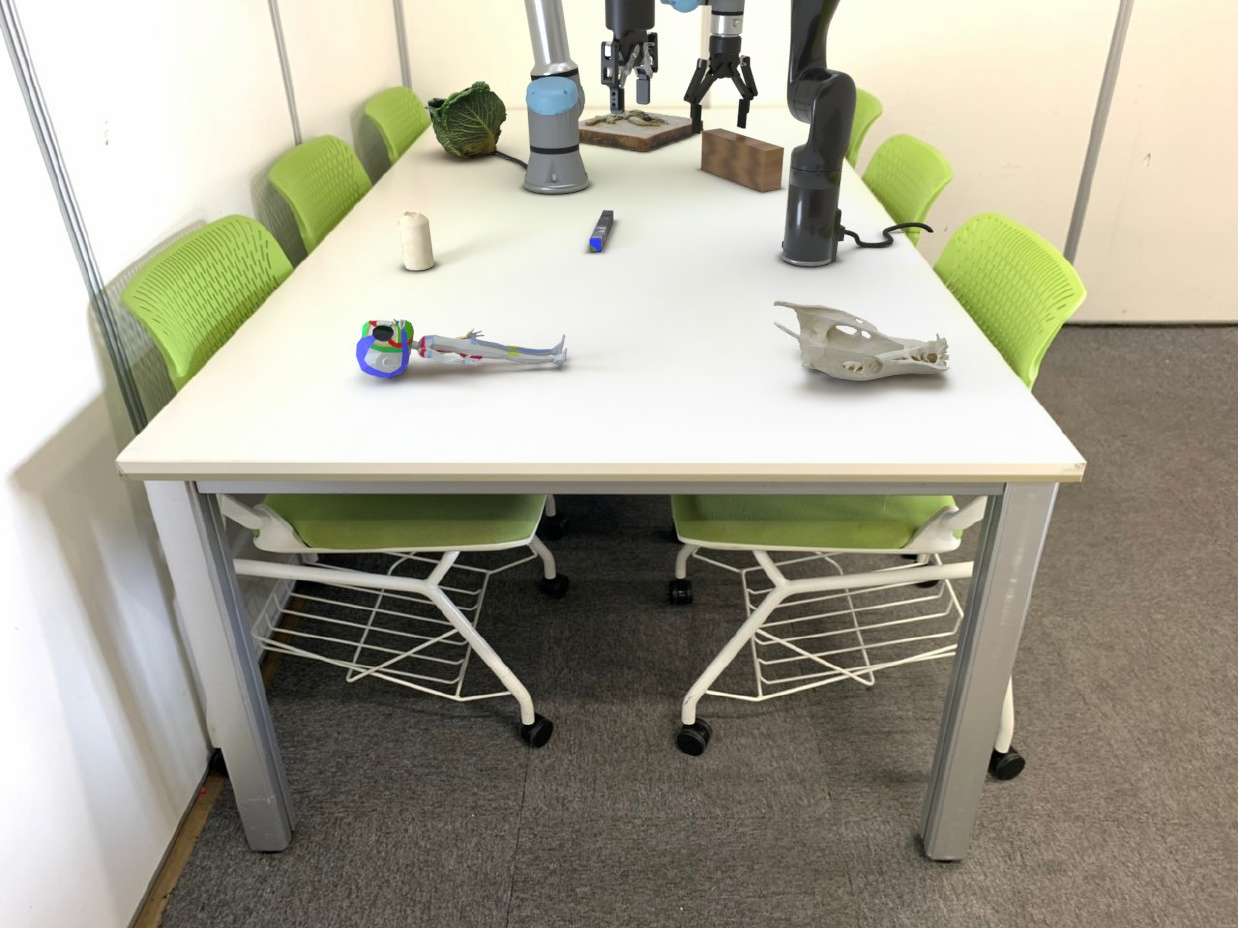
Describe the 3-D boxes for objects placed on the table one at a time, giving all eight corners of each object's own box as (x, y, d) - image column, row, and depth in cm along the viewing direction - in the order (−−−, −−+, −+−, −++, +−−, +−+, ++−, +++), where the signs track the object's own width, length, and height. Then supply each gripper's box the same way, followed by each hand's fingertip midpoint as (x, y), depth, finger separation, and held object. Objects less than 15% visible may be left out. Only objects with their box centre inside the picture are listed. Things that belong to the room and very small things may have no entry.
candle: (439, 262, 170) (432, 209, 165) (425, 272, 166) (417, 218, 161) (414, 259, 172) (406, 207, 167) (399, 269, 168) (391, 216, 162)
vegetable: (457, 176, 250) (415, 110, 242) (515, 138, 251) (474, 71, 243) (465, 176, 232) (420, 104, 224) (527, 135, 233) (484, 62, 225)
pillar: (613, 210, 190) (600, 241, 173) (613, 220, 191) (600, 251, 174) (603, 210, 190) (589, 240, 173) (603, 220, 191) (589, 251, 174)
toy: (569, 347, 126) (349, 329, 122) (563, 400, 131) (350, 385, 126) (565, 318, 135) (359, 301, 130) (559, 369, 139) (360, 354, 134)
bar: (700, 169, 226) (702, 131, 221) (718, 166, 229) (720, 128, 224) (762, 192, 208) (765, 151, 203) (781, 188, 210) (784, 147, 205)
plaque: (647, 125, 237) (559, 112, 252) (647, 153, 241) (560, 139, 256) (706, 107, 258) (622, 97, 273) (705, 133, 262) (622, 121, 277)
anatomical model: (773, 291, 133) (948, 293, 129) (771, 347, 137) (939, 351, 134) (773, 333, 120) (966, 337, 116) (770, 393, 125) (955, 399, 121)
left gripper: (690, 39, 200) (684, 138, 211) (778, 34, 211) (768, 128, 222) (671, 35, 205) (667, 132, 217) (758, 30, 216) (750, 122, 227)
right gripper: (629, -1, 127) (629, 119, 135) (673, -10, 137) (671, 103, 146) (583, -3, 130) (587, 115, 139) (630, -11, 140) (631, 99, 149)
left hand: (718, 130), depth 219 cm, fingers open, 13 cm apart
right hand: (630, 108), depth 142 cm, fingers open, 8 cm apart
